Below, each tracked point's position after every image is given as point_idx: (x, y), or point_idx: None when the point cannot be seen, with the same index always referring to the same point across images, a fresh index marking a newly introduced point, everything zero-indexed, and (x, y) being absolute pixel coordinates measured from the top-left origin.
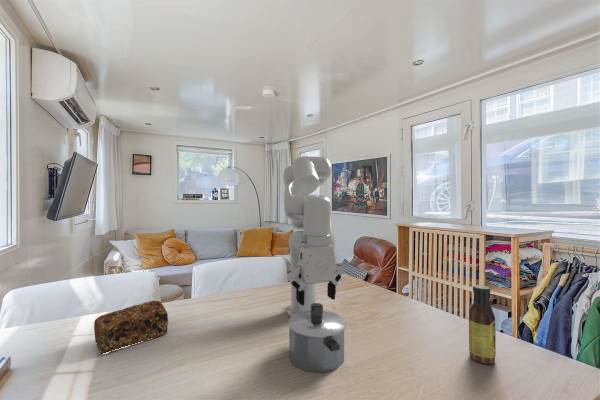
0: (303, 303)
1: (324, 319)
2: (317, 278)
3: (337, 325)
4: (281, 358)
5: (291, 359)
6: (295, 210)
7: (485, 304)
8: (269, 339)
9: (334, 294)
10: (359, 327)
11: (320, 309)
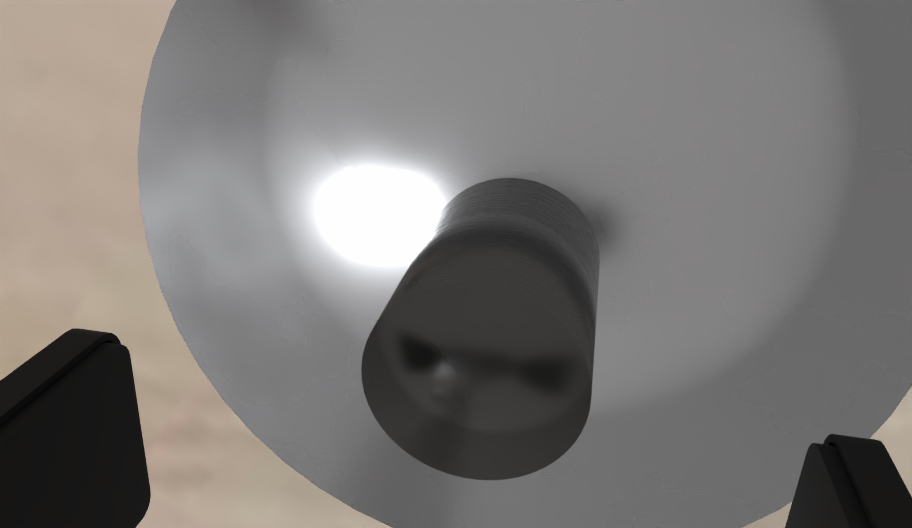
0: (853, 453)
1: (389, 249)
2: None
3: (314, 2)
4: None
5: None
6: None
7: None
8: (762, 524)
9: (17, 381)
10: (6, 305)
11: (468, 264)
